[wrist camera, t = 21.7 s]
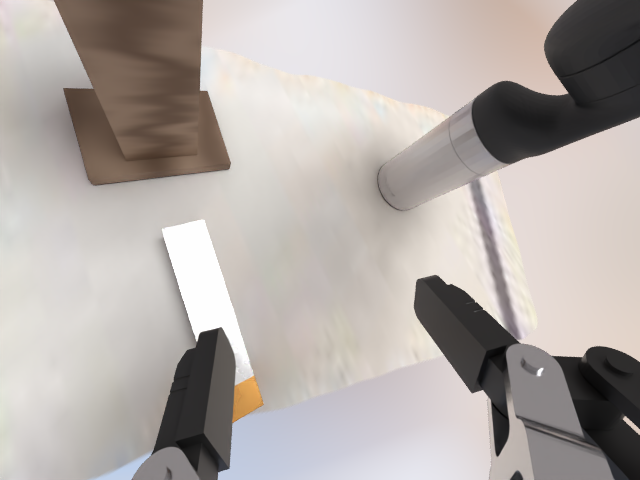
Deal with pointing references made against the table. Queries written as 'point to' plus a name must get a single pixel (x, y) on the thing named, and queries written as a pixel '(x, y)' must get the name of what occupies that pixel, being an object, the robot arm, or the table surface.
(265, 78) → the table surface
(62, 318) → the table surface
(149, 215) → the table surface
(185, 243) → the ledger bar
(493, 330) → the robot arm
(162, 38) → the tall stand
